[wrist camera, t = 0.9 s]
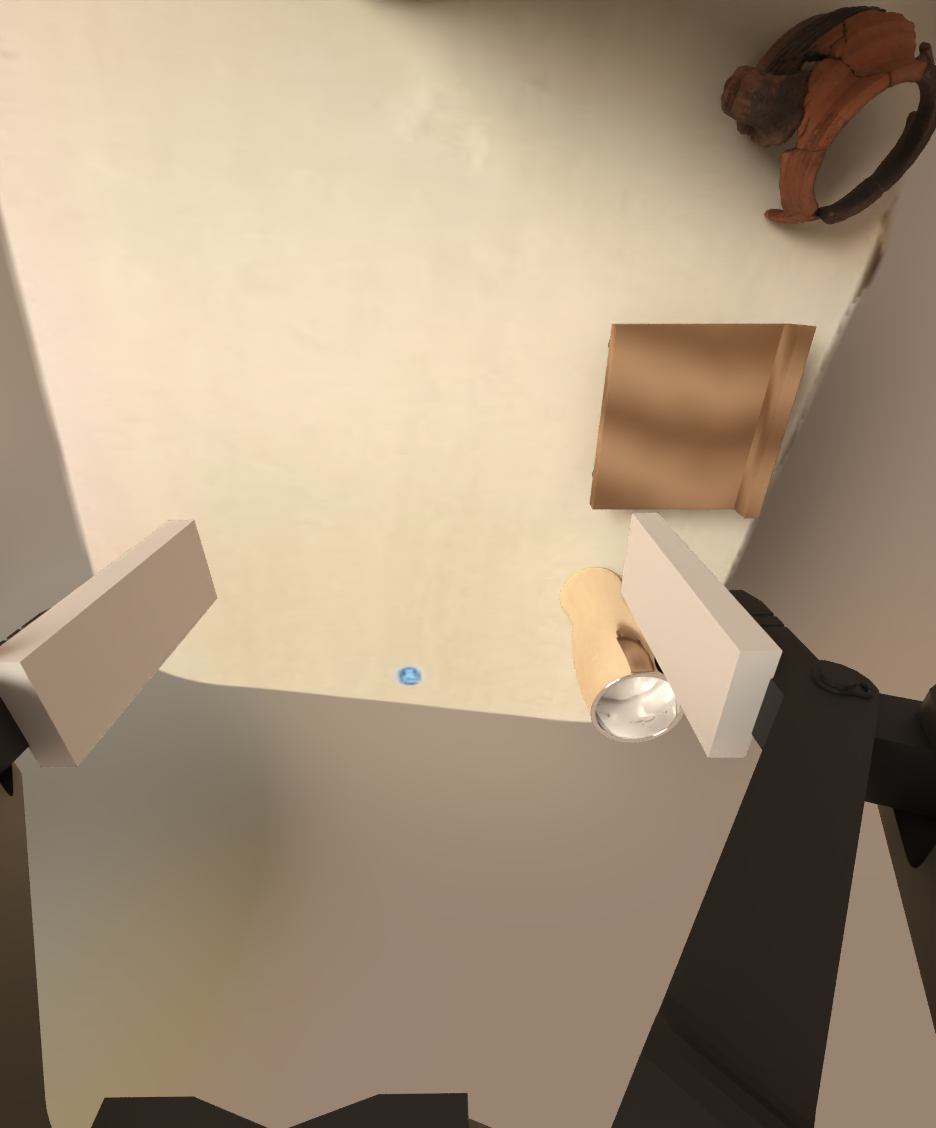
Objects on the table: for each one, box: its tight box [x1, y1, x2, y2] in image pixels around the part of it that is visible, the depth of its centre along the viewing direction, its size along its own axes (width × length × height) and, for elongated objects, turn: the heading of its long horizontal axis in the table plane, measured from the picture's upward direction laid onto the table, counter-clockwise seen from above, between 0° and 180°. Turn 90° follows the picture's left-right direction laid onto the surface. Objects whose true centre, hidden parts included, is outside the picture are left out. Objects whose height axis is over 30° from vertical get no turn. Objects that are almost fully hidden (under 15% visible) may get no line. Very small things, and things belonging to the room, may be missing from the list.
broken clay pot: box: [721, 6, 936, 224], centre depth 29 cm, size 12×10×8 cm
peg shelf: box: [590, 324, 816, 518], centre depth 37 cm, size 13×12×6 cm
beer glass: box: [560, 567, 684, 743], centre depth 41 cm, size 7×7×15 cm
